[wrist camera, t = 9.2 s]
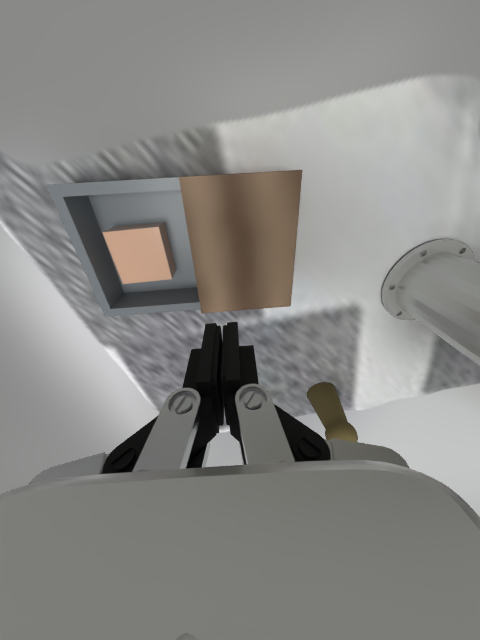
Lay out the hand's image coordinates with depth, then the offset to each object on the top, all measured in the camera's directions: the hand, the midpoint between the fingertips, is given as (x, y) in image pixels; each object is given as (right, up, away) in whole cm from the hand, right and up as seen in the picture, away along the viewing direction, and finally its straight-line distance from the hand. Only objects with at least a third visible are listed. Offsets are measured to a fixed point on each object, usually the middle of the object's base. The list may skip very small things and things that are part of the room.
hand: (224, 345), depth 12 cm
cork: (+18, -14, +35) cm, 41 cm away
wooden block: (+1, +12, +17) cm, 20 cm away
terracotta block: (-11, +9, +13) cm, 19 cm away
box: (-11, +11, +16) cm, 22 cm away
